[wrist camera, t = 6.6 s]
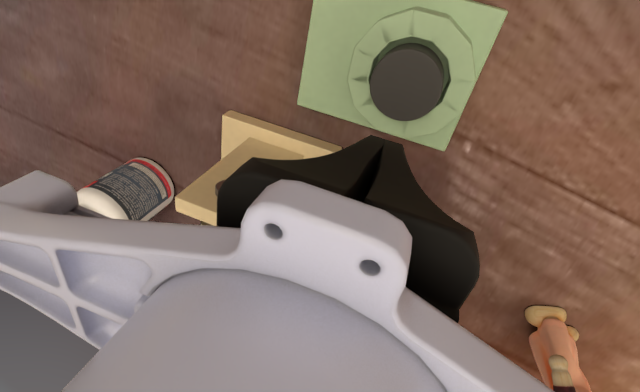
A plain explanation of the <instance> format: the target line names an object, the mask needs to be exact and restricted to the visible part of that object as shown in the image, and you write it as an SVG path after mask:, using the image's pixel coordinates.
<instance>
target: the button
mask: <svg viewBox="0 0 640 392" xmlns="http://www.w3.org/2000/svg"><path fill="white" fill-rule="evenodd" d="M443 83H444V69H443V65H442V62H441V60H440V59H439V57H438V56H437V54H436V53H435V52H434V51H433V50H431V49H430V48H429V47H427V46H425V45H422V44H418V43H405V44H401V45H398V46H396V47H394V48H393V49H391V50H390V51H388V52H387V53H386V54H385V55H384V57H383V58H382V59H381V60H380V61H379V62H378V64H377V65H376V66H375V68H374V70H373V72H372V75H371V79H370V94H371V97H372V100H373V102H374V104H375V106H376V107H377V108H378V110H379V111H380V112H381V113H383V114H384V115H385V116H387V117H389V118H391V119H394V120H398V121H412V120H416V119H419V118H421V117H423V116H425V115H426V114H428V113H429V112H430V111H431V110H432V109H433V108H434V107H435V106H436V104H437V103H438V101H439V99H440V97H441V94H442V89H443Z"/></svg>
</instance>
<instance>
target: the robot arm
mask: <svg viewBox="0 0 640 392" xmlns="http://www.w3.org/2000/svg"><path fill="white" fill-rule="evenodd" d="M479 267H480V263H479V253H478V248H477V244H476V240H475V236H474V232H473V231H471V230H469V229H468V228H466V227H464V226H463V225H461V224H460V223H458V222H456V221H455V220H453V219H452V218H451V217H449V216H448V215H447V214H446V213H444V212H443V211H442V210H441V209H440V208H438V207H437V206H436V205H435V204H434V203H433V202H432V201H431V200H430V199H429V198H428V196H427V195H426V194H425V193H424V192H423V190H422V189H421V187H420V186H419V185H418V183H417V182H416V180H415V178H414V176H413V174H412V172H411V170H410V167H409V165H408V162H407V159H406V156H405V152H404V148H403V145H401V144H398V143H395V142H392V141H389V140H385V139H382V138H379V137H376V136H373V135H370V136H368V137H366V138H364V139H362V140H361V141H359V142H357V143H355V144H353V145H351V146H349V147H347V148H345V149H342V150H340V151H337V152H334V153H331V154H328V155H324V156H320V157H315V158H307V159H298V160H276V159H266V158H257V157H252V158H251V159H249V160H248V161H247V162H245V163H244V164H243V165H242V166H240V167H239V168H238V169H237V170H236V171H235V172H234V173H233V174H232V175H231V176H230V177H228V178H227V179H226V180H225V181H224V182H223V184H222V185H221V187H220V189H219V191H218V196H217V226H205V225H192V224H179V223H165V222H152V221H139V220H126V219H112V218H110V217H107V216H105V215H102V214H100V213H97V212H94V211H92V210H89V209H87V208H84V207H82V206H79V202H78V196H77V192H76V190H75V188H74V187H73V186H72V185H71V184H70V183H68V182H67V181H65V180H63V179H60V178H57V177H55V176H52V175H50V174H47V173H45V172H42V171H39V170H36V171H34V172H32V173H29V174H27V175H25V176H23V177H21V178H19V179H17V180H15V181H13V182H11V183H9V184H6V185H4V186H2V187H0V289H1V290H3V291H5V292H7V293H9V294H11V295H13V296H14V297H16V298H18V299H20V300H22V301H23V302H25V303H27V304H29V305H30V306H32V307H34V308H35V309H37V310H39V311H40V312H42V313H43V314H45V315H47V316H48V317H50V318H51V319H53V320H55V321H56V322H58V323H59V324H61V325H62V326H64V327H65V328H67V329H68V330H70V331H71V332H73V333H74V334H76V335H78V336H79V337H81V338H82V339H84V340H85V341H87V342H88V343H90V344H91V345H93V346H94V347H96V348H97V349H99V350H100V351H99V352H98V353H97V354H96V355H95V356H94V357H93V358H92V359H91V360H90V361H89V362H88V363H87V364H86V366H85V367H84V368H83V369H82V370H81V371H80V372H79V373H78V374H77V375H76V376H75V377H74V378H73V379H72V380H71V382H69V384H68V385H67V386H66V387H65V388H64V389H63V390H62V391H61V392H555V391H553V390H552V389H550V388H549V387H547V386H546V385H545V384H543V383H542V382H540V381H539V380H538V379H536V378H535V377H533V376H532V375H530V374H529V373H528V372H526V371H525V370H523V369H522V368H520V367H519V366H518V365H516V364H515V363H513V362H512V361H510V360H509V359H508V358H506V357H505V356H503V355H502V354H501V353H499V352H498V351H496V350H495V349H493V348H492V347H491V346H489V345H488V344H486V343H485V342H483V341H482V340H481V339H479V338H478V337H476V336H475V335H473V334H472V333H471V332H469V331H468V330H466V329H465V328H464V327H462V326H461V325H459V324H458V321H459V309H460V307H461V306H462V304H463V303H464V301H465V300H466V298H467V297H468V295H469V294H470V292H471V291H472V289H473V288H474V286H475V284H476V282H477V280H478V278H479Z"/></svg>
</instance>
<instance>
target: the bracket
mask: <svg viewBox="0 0 640 392" xmlns="http://www.w3.org/2000/svg"><path fill="white" fill-rule="evenodd" d="M341 149H342V147H341V146H338V145H335V144H332V143H329V142H326V141H323V140H320V139H316V138H313V137H310V136H307V135H304V134H301V133H298V132H295V131H292V130H289V129H286V128H283V127H280V126H277V125H274V124H271V123H268V122H265V121H262V120H259V119H256V118H253V117H250V116H247V115H244V114H241V113H238V112H235V111H232V110H230V111H228V112H227V113H225V114H223V115H222V144H221V160H220V161H219V162H218V163H217V164H215V165H214V166H213V167H212V168H210V169H209V170H208V171H207V172H205V173H204V174H203V175H202V176H200V177H199V178H198V179H197V180H195V181H194V182H193V183H192V184H190V185H189V186H188V187H187V188H185V189H184V190H183V191H182V192H181V193H179V194H178V195H177V196H176V197H175V208H176V211H178V212H180V213H183V214H185V215H188V216H191V217H193V218H196V219H198V220H201V221H203V222H206V223H208V224H211V225H214V226H217V196H218V191H219V189H220V187H221V185H222V184H223V182H224V181H225V180H226V179H227V178H228V177H230V176H231V175H232V174H233V173H234V172H235V171H236V170H237V169H238V168H239V167H240V166H242V165H243V164H244V163H245V162H247V161H248V160H249V159H251V158H252V157H257V158H266V159H276V160H298V159H307V158H315V157H320V156H324V155H328V154H331V153H334V152H337V151H340V150H341Z"/></svg>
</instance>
